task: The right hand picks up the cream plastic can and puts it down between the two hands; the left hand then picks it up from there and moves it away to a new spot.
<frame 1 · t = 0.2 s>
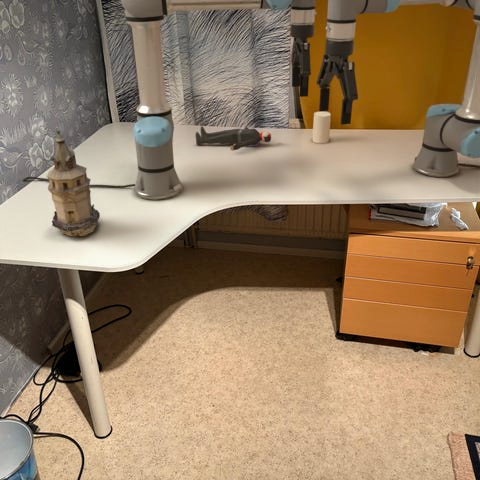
left hand: (299, 91, 180), 28 cm above the table, tool pointing down, fingers open, 13 cm apart
right hand: (334, 117, 154), 28 cm above the table, tool pointing down, fingers open, 13 cm apart
toy: (234, 144, 218), on the table
miniature building: (78, 229, 156), on the table
can: (320, 140, 220), on the table
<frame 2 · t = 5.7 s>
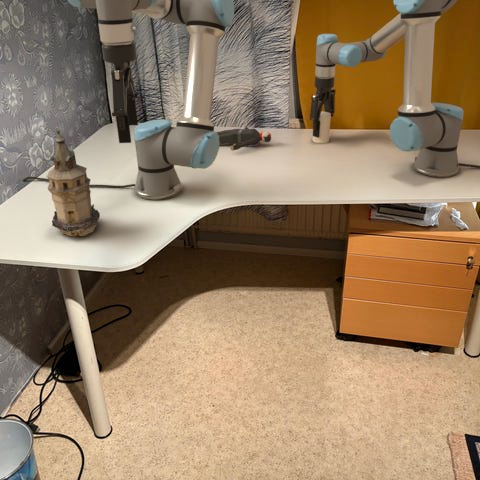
left hand: (129, 133, 132), 32 cm above the table, tool pointing down, fingers open, 13 cm apart
right hand: (321, 134, 219), 3 cm above the table, tool pointing down, fingers closed on can, 7 cm apart
can: (320, 140, 220), on the table, touching right hand
everything else where it was.
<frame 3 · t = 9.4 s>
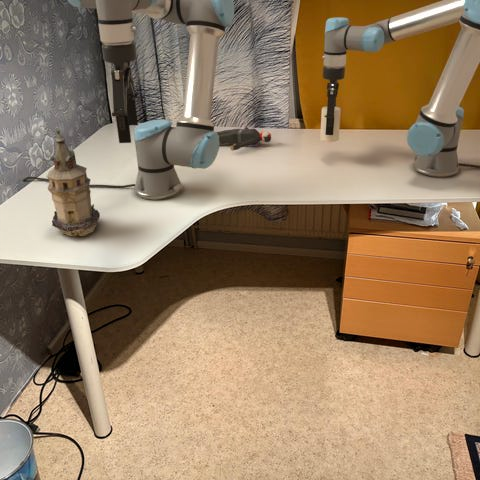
left hand: (129, 133, 132), 32 cm above the table, tool pointing down, fingers open, 13 cm apart
right hand: (329, 131, 195), 11 cm above the table, tool pointing down, fingers closed on can, 7 cm apart
can: (329, 138, 196), point 8 cm above the table, touching right hand
everything else where it was.
when the right hand's fingers open (4 cm above the table, at t = 13.1 s): can drops 1 cm, on the table.
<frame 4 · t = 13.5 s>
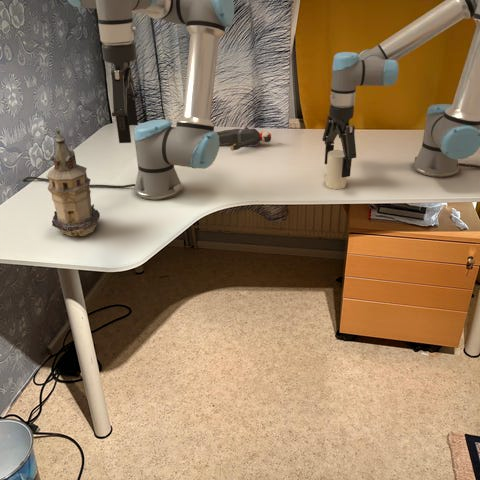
left hand: (129, 133, 132), 32 cm above the table, tool pointing down, fingers open, 13 cm apart
right hand: (336, 169, 178), 5 cm above the table, tool pointing down, fingers open, 11 cm apart
can: (335, 185, 181), on the table
everything else where it was.
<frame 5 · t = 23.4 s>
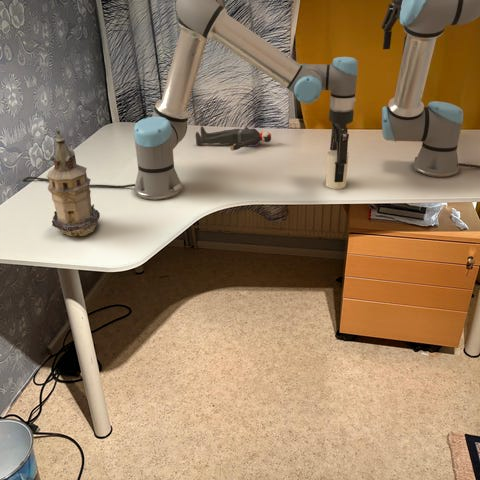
left hand: (336, 177, 179), 3 cm above the table, tool pointing down, fingers closed on can, 7 cm apart
right hand: (395, 52, 204), 34 cm above the table, tool pointing down, fingers open, 13 cm apart
can: (335, 184, 181), on the table, touching left hand
everything else where it was.
when the left hand's fingers open (4 cm above the table, at t = 43.2 s): can drops 1 cm, on the table.
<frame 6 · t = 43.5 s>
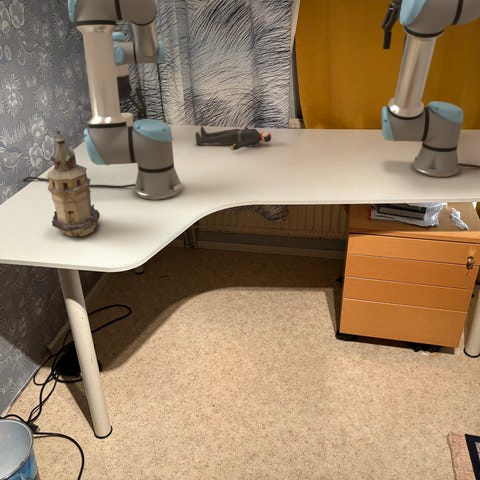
left hand: (126, 129, 220), 5 cm above the table, tool pointing down, fingers open, 11 cm apart
right hand: (395, 52, 204), 34 cm above the table, tool pointing down, fingers open, 13 cm apart
can: (127, 141, 222), on the table
everything else where it was.
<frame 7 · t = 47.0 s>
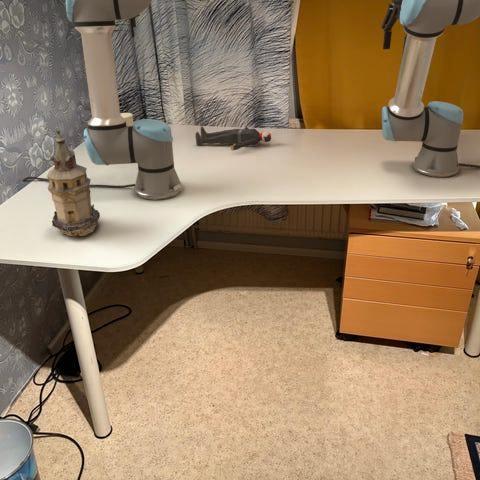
left hand: (114, 38, 202), 41 cm above the table, tool pointing down, fingers open, 13 cm apart
right hand: (395, 52, 204), 34 cm above the table, tool pointing down, fingers open, 13 cm apart
nothing on the table moved.
at the end: can inside the target area (0.1 cm from its centre), on the table; can tilted 0°; the two hands never held the can at the same time; the left hand is holding nothing; the right hand is holding nothing; can at rest at the end (0.0 cm/s) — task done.
